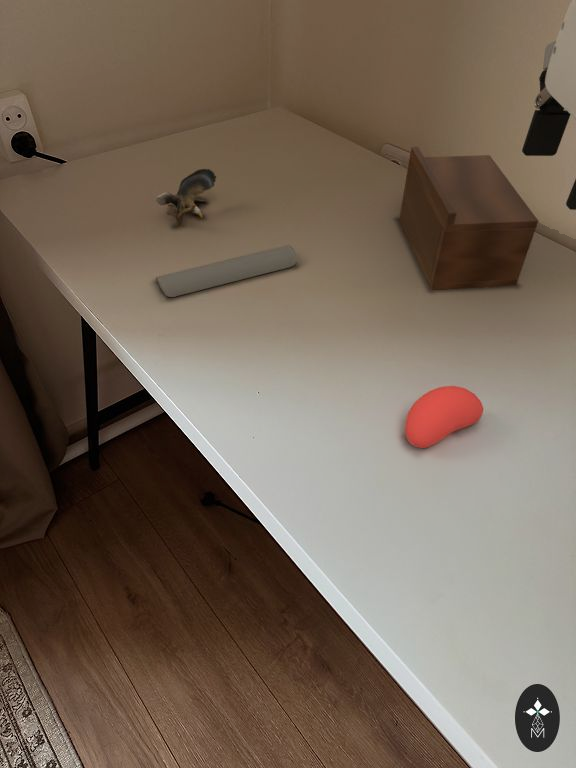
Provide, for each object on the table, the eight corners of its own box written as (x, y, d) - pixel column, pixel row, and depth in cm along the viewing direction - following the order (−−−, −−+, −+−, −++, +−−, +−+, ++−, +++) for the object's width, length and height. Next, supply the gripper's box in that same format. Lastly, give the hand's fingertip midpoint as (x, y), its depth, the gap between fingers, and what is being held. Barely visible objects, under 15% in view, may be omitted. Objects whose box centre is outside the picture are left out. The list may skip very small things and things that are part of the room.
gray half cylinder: (299, 265, 89) (299, 254, 87) (164, 300, 83) (162, 289, 81) (285, 249, 91) (286, 239, 90) (154, 282, 85) (152, 271, 84)
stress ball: (391, 420, 71) (390, 405, 65) (463, 381, 71) (468, 364, 65) (415, 460, 69) (416, 449, 63) (488, 421, 69) (496, 407, 63)
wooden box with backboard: (473, 216, 99) (492, 144, 91) (516, 285, 87) (542, 209, 79) (398, 219, 98) (411, 146, 90) (431, 290, 86) (449, 213, 77)
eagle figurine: (212, 226, 93) (228, 186, 98) (180, 189, 89) (199, 150, 94) (175, 241, 97) (192, 202, 102) (143, 207, 93) (162, 168, 98)
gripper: (778, -17, 38) (649, 232, 50) (636, -75, 50) (559, 137, 62) (664, -22, 37) (559, 233, 49) (547, -79, 49) (486, 137, 62)
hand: (559, 179), depth 56 cm, fingers open, 9 cm apart
